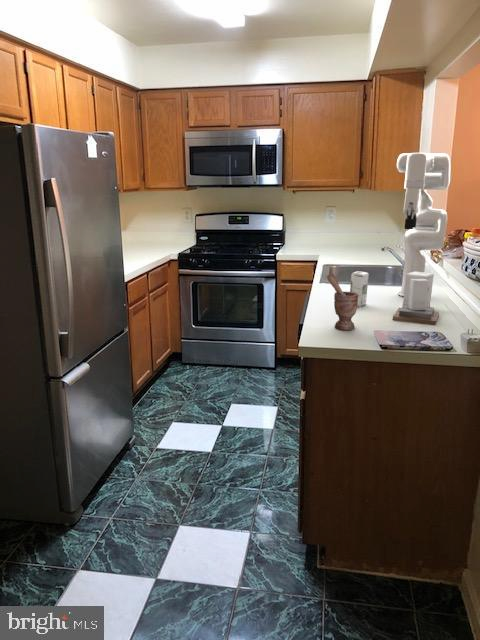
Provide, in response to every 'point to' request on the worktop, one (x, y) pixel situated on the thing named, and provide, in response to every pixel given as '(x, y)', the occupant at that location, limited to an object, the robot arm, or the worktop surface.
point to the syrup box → (359, 286)
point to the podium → (416, 315)
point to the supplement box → (417, 276)
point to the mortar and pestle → (343, 305)
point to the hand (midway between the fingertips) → (410, 228)
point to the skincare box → (418, 294)
